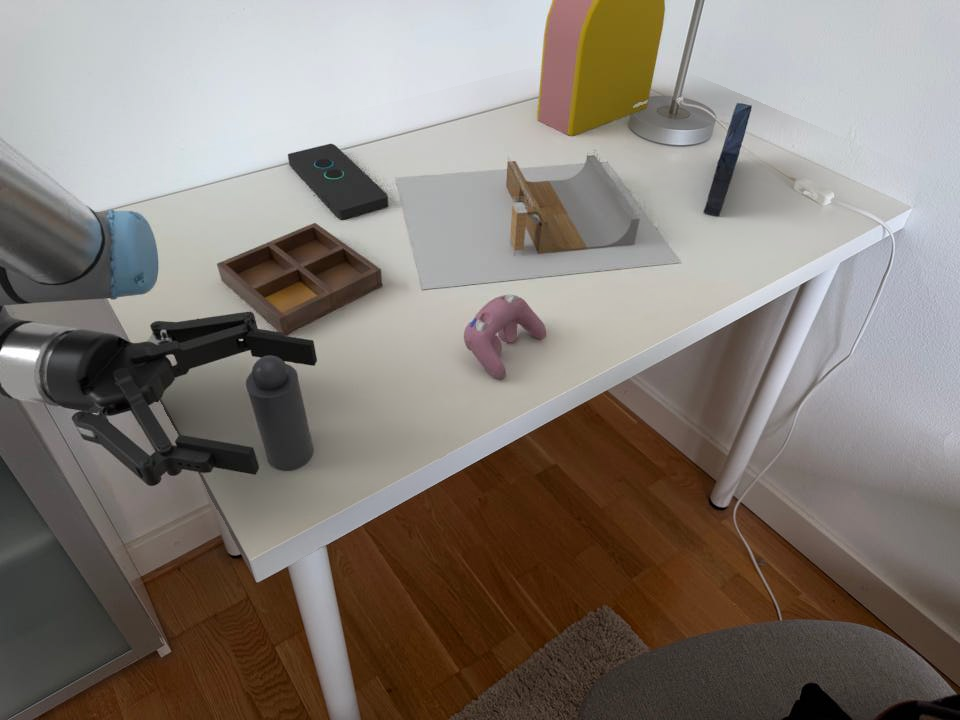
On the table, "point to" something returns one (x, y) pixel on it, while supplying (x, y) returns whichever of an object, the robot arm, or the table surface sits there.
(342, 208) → the smart home device
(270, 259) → the grid
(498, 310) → the video game controller
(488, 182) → the skate ramp
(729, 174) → the vhs cassette tape
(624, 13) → the yellow and pink slab
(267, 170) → the table surface
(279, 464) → the pawn
